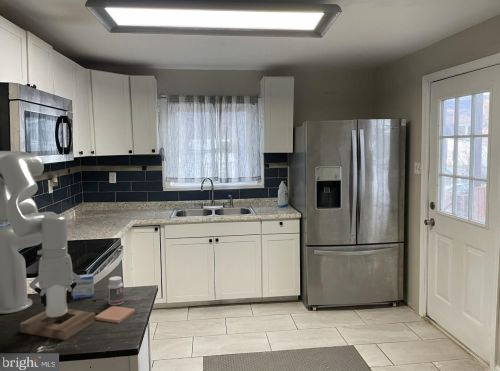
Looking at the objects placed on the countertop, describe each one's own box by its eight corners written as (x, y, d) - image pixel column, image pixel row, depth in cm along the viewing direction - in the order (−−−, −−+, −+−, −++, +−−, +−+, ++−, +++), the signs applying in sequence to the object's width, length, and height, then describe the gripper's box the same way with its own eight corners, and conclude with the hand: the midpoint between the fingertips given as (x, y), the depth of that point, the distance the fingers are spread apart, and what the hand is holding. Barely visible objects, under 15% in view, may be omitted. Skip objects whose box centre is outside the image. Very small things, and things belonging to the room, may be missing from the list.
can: (58, 319, 126) (57, 284, 125) (41, 316, 127) (40, 282, 126) (71, 310, 132) (70, 277, 131) (55, 308, 134) (54, 275, 132)
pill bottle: (126, 301, 151) (126, 277, 150) (114, 306, 146) (114, 281, 145) (117, 298, 154) (116, 275, 153) (105, 303, 149) (104, 279, 148)
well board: (20, 332, 126) (20, 323, 125) (53, 314, 139) (53, 306, 139) (65, 340, 120) (64, 330, 120) (95, 321, 134) (94, 312, 134)
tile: (94, 319, 135) (94, 316, 135) (112, 308, 145) (112, 305, 144) (118, 323, 132) (118, 320, 132) (135, 311, 142) (135, 309, 142)
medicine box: (73, 299, 153) (72, 278, 152) (73, 295, 157) (72, 275, 156) (94, 296, 156) (93, 276, 155) (94, 292, 160) (93, 272, 160)
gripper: (24, 258, 120) (26, 312, 122) (84, 252, 128) (85, 303, 130) (25, 252, 127) (27, 304, 129) (82, 246, 135) (83, 295, 137)
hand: (56, 303), depth 129 cm, fingers closed on can, 6 cm apart
